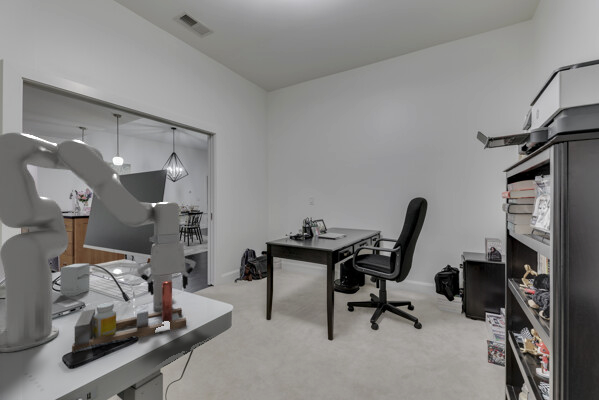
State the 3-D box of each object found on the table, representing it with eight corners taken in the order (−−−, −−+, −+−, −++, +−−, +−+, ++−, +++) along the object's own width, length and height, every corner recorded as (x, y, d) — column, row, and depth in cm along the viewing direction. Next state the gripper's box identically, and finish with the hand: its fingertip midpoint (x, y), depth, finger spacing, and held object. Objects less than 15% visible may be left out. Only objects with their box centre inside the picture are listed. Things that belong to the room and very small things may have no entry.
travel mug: (165, 312, 94) (164, 257, 95) (149, 310, 96) (149, 256, 96) (176, 305, 101) (176, 254, 101) (161, 304, 102) (161, 253, 102)
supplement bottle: (88, 342, 74) (89, 308, 74) (101, 333, 79) (101, 301, 79) (108, 341, 74) (108, 307, 74) (120, 332, 80) (120, 301, 80)
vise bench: (72, 353, 68) (72, 327, 68) (80, 334, 78) (80, 311, 78) (186, 326, 83) (186, 304, 83) (181, 313, 93) (180, 293, 93)
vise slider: (136, 333, 78) (136, 289, 78) (136, 324, 84) (136, 283, 84) (180, 323, 84) (180, 283, 85) (177, 315, 90) (177, 277, 91)
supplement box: (76, 296, 113) (76, 267, 113) (59, 296, 113) (59, 267, 113) (90, 290, 120) (90, 263, 120) (74, 290, 120) (74, 263, 121)
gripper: (136, 243, 78) (137, 300, 78) (196, 237, 87) (198, 288, 87) (136, 240, 85) (137, 293, 84) (192, 235, 94) (194, 283, 94)
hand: (168, 290), depth 86 cm, fingers open, 9 cm apart
